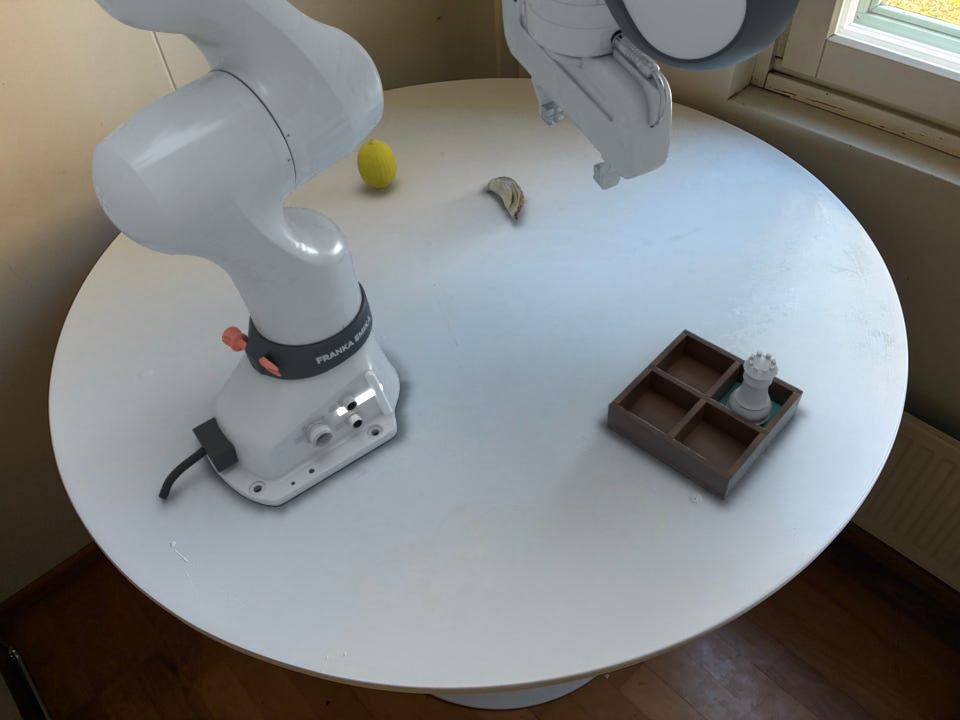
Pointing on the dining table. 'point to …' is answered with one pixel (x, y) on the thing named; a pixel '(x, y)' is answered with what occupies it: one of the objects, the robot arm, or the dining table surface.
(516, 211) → the oyster shell
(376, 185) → the lemon
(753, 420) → the rook chess piece
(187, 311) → the dining table surface
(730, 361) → the grid
